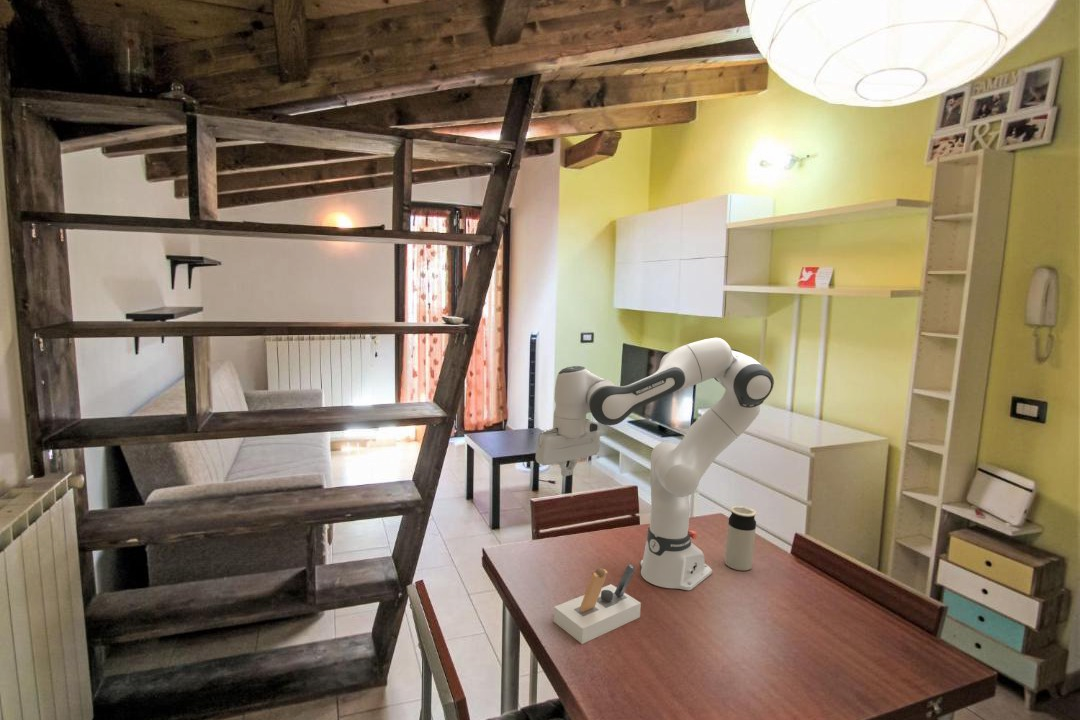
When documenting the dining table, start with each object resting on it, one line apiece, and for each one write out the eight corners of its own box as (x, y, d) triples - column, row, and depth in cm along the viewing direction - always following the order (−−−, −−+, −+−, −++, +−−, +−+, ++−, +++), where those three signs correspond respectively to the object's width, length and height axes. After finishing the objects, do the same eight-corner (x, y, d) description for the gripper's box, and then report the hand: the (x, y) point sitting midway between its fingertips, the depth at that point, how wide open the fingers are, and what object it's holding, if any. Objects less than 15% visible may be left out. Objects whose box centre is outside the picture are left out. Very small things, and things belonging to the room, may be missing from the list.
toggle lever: (618, 589, 154) (632, 561, 149) (624, 596, 152) (638, 568, 148) (612, 592, 152) (625, 563, 148) (618, 599, 151) (631, 570, 146)
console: (610, 597, 159) (611, 583, 159) (639, 617, 151) (640, 602, 150) (553, 621, 147) (554, 606, 147) (581, 644, 139) (582, 627, 138)
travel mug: (748, 574, 176) (754, 517, 173) (721, 566, 180) (726, 511, 177) (754, 563, 182) (759, 509, 180) (728, 556, 186) (733, 503, 184)
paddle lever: (590, 602, 148) (604, 564, 143) (595, 608, 146) (610, 570, 141) (578, 607, 145) (592, 568, 140) (583, 613, 144) (598, 575, 139)
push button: (606, 593, 152) (607, 588, 152) (614, 598, 150) (615, 593, 150) (598, 597, 150) (598, 592, 150) (606, 602, 148) (606, 597, 148)
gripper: (546, 433, 148) (544, 485, 150) (604, 424, 160) (601, 472, 162) (531, 428, 153) (529, 478, 155) (589, 419, 165) (586, 465, 167)
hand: (567, 475), depth 159 cm, fingers closed
